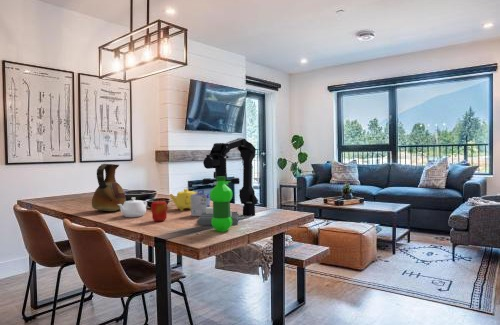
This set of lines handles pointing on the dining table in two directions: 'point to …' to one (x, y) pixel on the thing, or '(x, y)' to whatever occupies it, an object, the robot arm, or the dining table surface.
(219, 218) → the plastic bottle
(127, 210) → the teapot
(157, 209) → the red rounded piece
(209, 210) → the white cube
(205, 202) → the ink cartridge box
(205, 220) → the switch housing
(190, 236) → the dining table surface
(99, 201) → the ceramic pitcher
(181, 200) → the teapot
